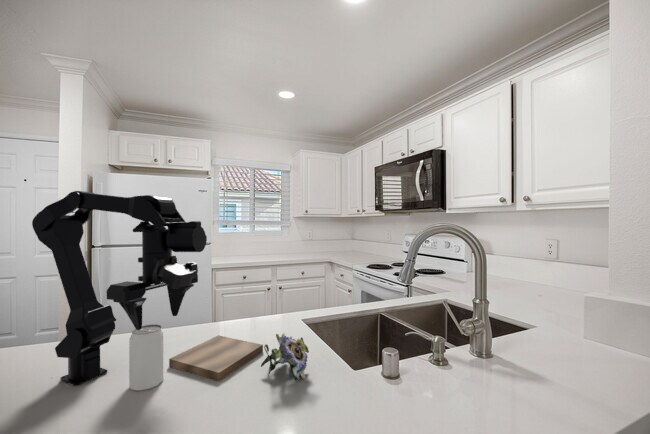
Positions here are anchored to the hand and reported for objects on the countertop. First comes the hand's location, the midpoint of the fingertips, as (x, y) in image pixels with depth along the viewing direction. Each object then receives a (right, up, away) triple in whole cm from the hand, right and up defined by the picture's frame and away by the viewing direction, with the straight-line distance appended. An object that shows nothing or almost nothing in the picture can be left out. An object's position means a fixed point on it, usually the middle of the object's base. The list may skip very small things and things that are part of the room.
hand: (157, 322), depth 66 cm
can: (-2, -13, -1) cm, 13 cm away
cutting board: (+10, -13, +10) cm, 19 cm away
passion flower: (+28, -13, +2) cm, 31 cm away
